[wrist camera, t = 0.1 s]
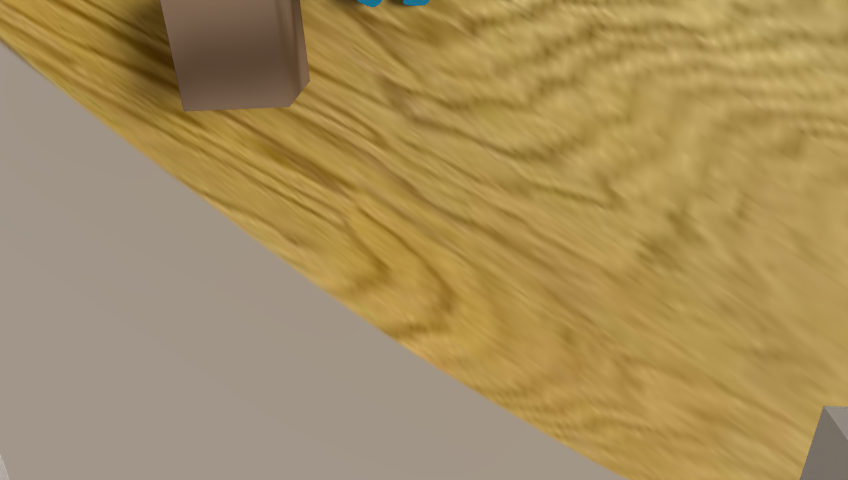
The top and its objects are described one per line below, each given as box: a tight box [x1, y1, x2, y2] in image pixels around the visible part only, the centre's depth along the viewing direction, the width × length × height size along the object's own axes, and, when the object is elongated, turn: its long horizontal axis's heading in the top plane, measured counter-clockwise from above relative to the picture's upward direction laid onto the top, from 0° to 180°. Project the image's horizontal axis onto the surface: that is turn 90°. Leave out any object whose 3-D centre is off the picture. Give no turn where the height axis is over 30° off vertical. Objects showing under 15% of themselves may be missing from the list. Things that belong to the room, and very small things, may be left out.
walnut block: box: [160, 0, 310, 111], centre depth 34 cm, size 5×5×5 cm
